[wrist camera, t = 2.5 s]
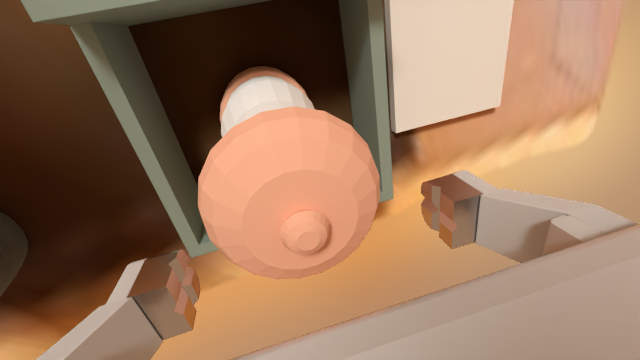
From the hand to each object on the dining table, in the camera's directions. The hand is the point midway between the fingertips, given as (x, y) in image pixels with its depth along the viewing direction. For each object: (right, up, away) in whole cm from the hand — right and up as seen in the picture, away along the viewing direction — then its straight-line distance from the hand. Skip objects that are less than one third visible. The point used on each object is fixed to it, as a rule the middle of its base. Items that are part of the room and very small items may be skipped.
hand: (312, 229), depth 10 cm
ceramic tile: (+12, +14, +18) cm, 26 cm away
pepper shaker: (-5, +8, +16) cm, 19 cm away
